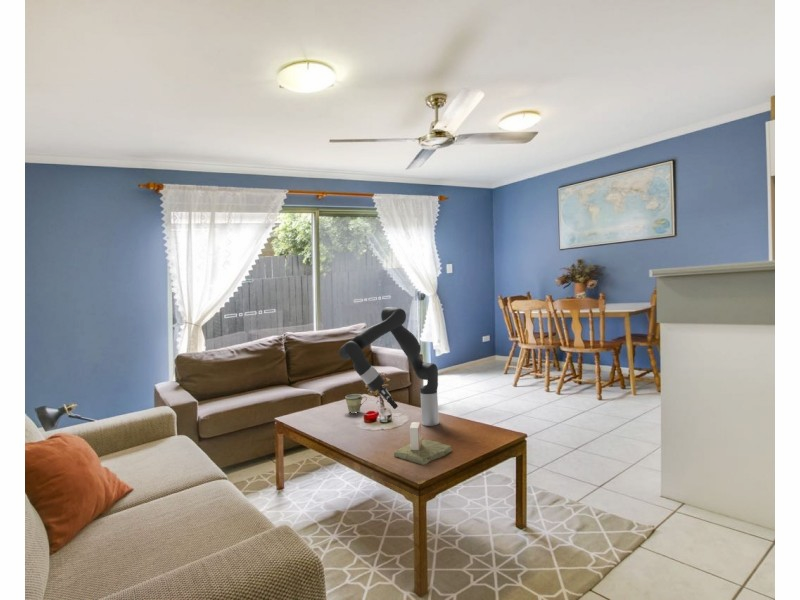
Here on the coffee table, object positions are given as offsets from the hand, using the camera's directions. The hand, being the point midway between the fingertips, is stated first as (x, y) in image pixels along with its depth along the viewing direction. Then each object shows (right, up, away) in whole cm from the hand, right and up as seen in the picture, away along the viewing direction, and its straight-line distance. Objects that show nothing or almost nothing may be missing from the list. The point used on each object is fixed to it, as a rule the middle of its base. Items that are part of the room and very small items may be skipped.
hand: (395, 406), depth 199 cm
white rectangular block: (+10, -19, +1) cm, 21 cm away
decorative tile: (+13, -22, 0) cm, 26 cm away
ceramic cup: (-24, -21, +71) cm, 78 cm away
